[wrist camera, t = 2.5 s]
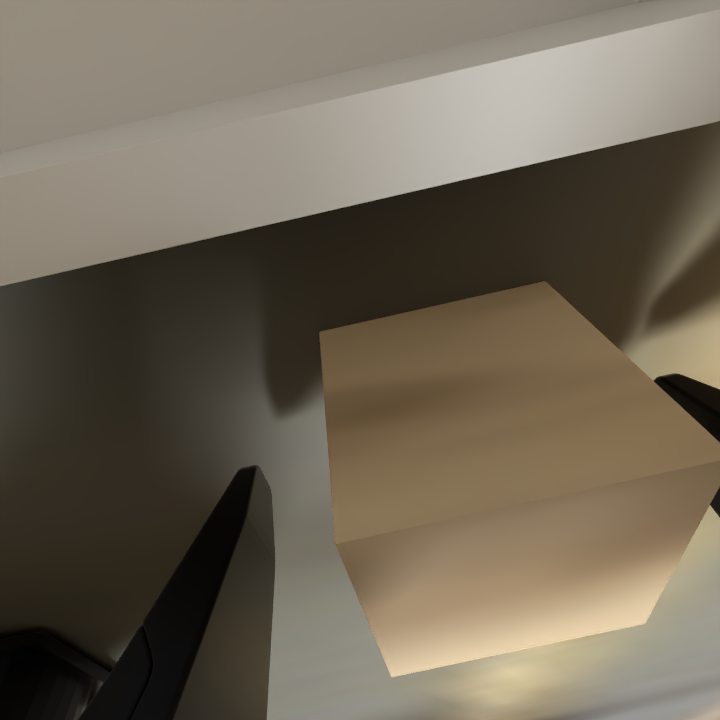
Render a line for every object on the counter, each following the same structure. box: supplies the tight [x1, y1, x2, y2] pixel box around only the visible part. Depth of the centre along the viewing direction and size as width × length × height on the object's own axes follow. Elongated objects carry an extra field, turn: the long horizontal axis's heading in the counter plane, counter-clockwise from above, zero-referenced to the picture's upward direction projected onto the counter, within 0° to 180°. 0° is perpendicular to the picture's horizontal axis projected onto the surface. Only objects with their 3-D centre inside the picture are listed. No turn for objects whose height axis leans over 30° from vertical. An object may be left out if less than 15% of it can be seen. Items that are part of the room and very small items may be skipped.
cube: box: [319, 281, 720, 677], centre depth 9 cm, size 5×5×5 cm
